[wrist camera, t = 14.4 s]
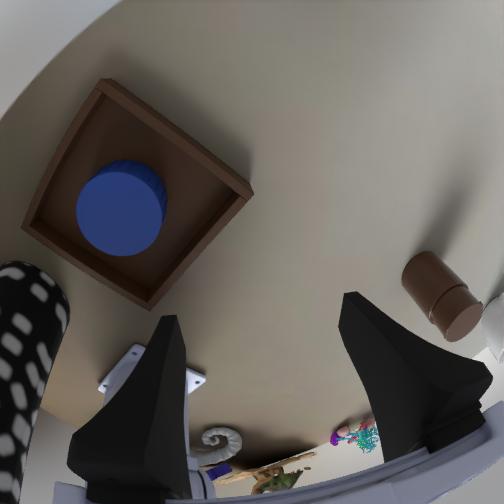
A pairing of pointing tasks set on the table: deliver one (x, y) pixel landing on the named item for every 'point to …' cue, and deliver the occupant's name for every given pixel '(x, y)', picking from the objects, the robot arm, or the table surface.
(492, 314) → the cup
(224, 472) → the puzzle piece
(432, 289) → the jar
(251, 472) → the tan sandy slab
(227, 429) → the seahorse
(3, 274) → the spotted tube
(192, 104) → the table surface
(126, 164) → the jar lid
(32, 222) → the tray
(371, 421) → the anatomy model
